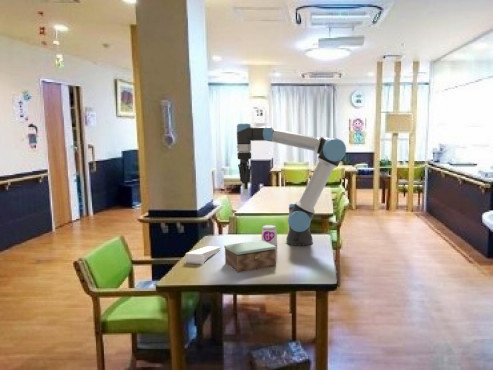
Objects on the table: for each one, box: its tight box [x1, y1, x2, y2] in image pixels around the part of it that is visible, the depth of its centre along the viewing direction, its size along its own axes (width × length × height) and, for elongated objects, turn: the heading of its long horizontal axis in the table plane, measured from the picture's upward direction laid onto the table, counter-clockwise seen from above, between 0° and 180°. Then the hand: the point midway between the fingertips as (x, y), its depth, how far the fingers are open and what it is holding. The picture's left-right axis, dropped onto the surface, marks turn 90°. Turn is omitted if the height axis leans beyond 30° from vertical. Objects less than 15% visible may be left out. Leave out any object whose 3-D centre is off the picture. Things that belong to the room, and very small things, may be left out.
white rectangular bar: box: [185, 245, 222, 265], centre depth 231 cm, size 10×7×28 cm
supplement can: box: [261, 224, 278, 254], centre depth 232 cm, size 8×8×15 cm
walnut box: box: [224, 248, 277, 274], centre depth 214 cm, size 20×17×8 cm
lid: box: [223, 239, 278, 255], centre depth 213 cm, size 21×16×1 cm
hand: (245, 194), depth 241 cm, fingers closed
